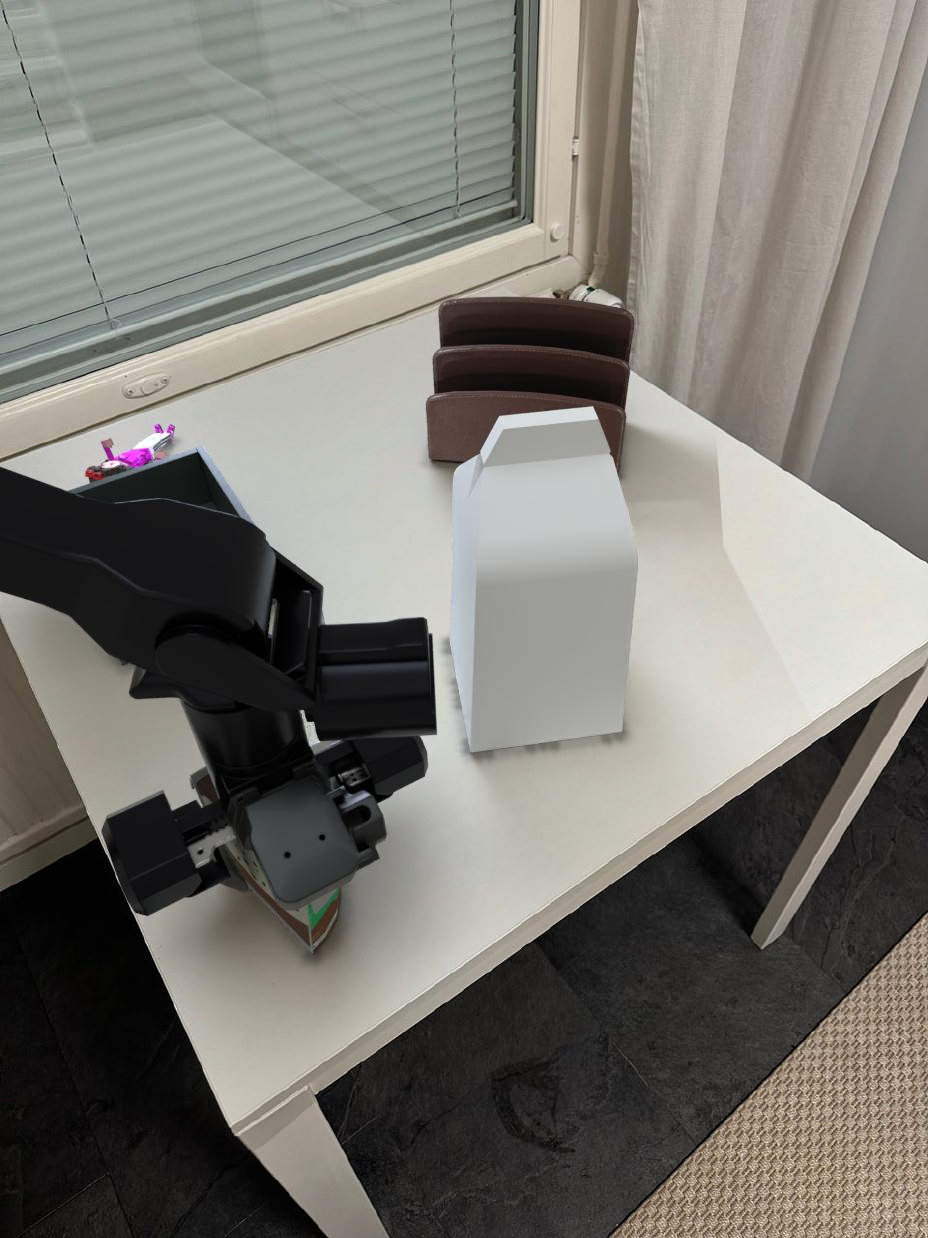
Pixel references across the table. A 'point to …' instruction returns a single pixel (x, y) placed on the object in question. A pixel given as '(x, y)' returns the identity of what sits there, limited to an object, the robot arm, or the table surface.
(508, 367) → the letter holder
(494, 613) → the milk
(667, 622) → the table surface
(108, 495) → the storage box
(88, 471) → the character figurine
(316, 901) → the cake slice
